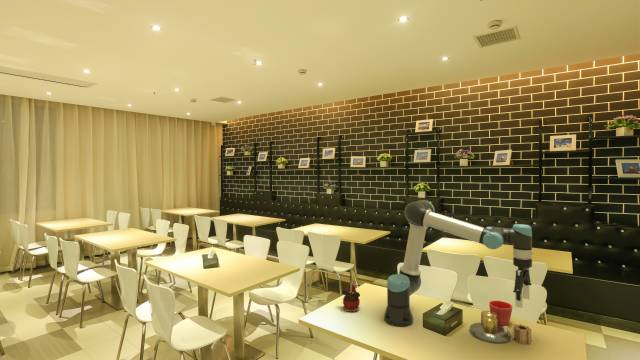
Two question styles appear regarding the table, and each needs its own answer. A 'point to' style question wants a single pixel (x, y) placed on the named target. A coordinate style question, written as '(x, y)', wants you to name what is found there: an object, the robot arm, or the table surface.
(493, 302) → the flower pot
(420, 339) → the table surface
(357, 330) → the table surface
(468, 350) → the table surface
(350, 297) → the red vase
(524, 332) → the gear
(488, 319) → the carrier
